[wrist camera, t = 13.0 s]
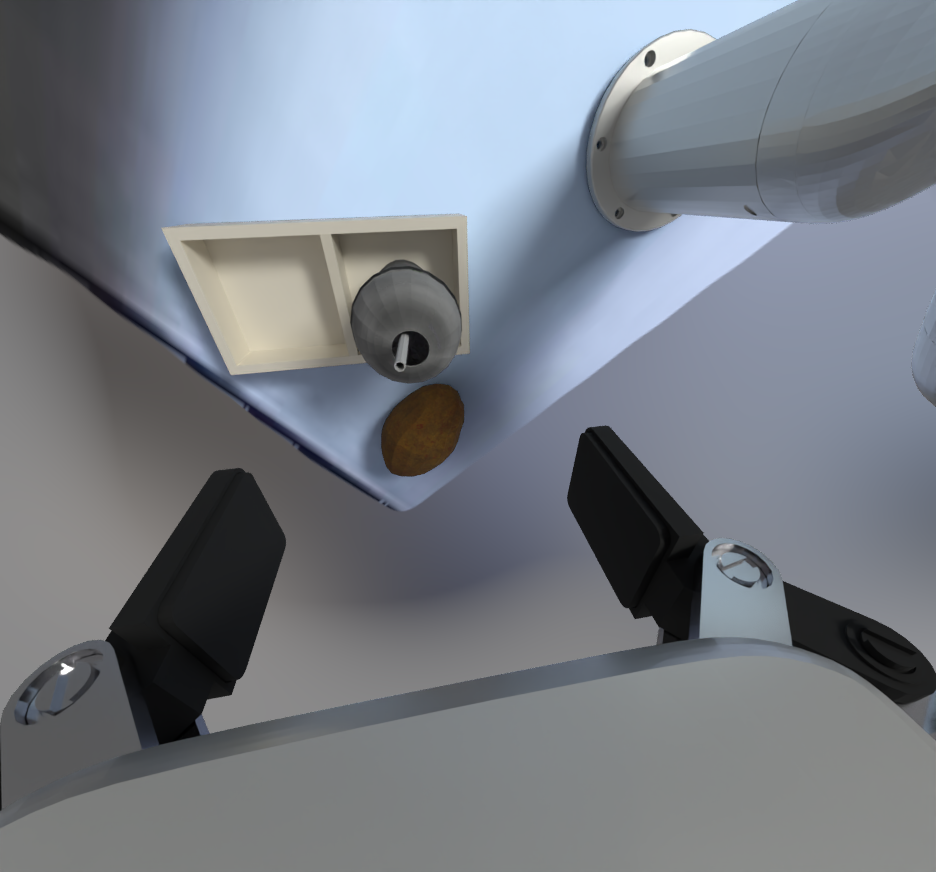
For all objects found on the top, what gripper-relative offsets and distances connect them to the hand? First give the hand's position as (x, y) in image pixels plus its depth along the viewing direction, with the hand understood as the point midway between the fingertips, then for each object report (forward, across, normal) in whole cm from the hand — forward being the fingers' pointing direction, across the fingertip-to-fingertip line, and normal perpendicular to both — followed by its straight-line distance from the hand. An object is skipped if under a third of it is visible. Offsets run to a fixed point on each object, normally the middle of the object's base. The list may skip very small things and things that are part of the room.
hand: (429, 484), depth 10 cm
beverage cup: (+27, +1, 0) cm, 27 cm away
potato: (+28, 0, +15) cm, 31 cm away
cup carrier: (+27, +6, 0) cm, 28 cm away
